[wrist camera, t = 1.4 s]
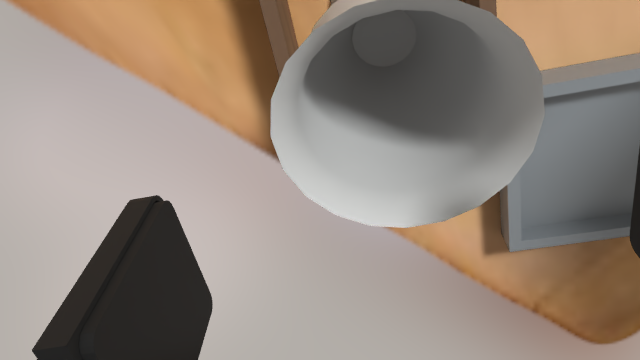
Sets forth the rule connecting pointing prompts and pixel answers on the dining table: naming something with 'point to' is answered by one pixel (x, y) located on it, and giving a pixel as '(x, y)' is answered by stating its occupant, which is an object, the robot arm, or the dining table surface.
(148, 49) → the dining table surface
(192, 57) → the dining table surface
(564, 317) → the dining table surface
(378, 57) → the chalice
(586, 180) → the tray
